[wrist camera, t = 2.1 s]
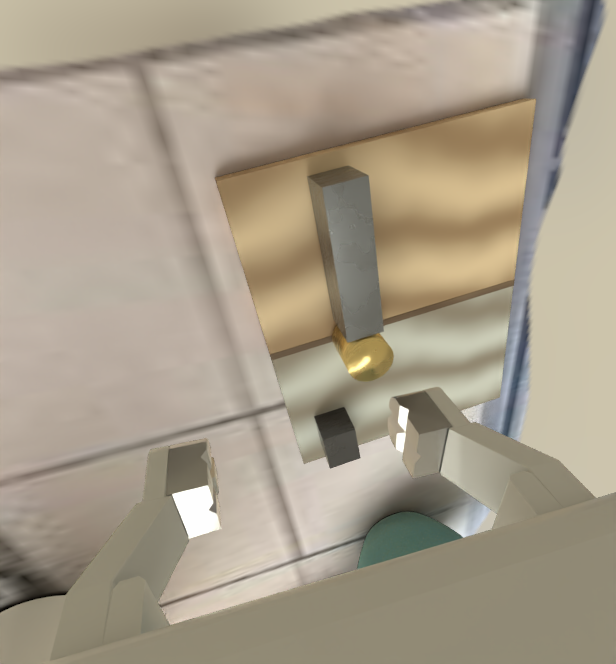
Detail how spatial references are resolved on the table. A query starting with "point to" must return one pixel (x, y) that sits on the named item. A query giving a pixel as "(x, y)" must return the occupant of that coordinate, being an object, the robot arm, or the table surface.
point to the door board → (392, 264)
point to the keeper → (337, 437)
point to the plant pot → (403, 537)
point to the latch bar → (351, 269)
